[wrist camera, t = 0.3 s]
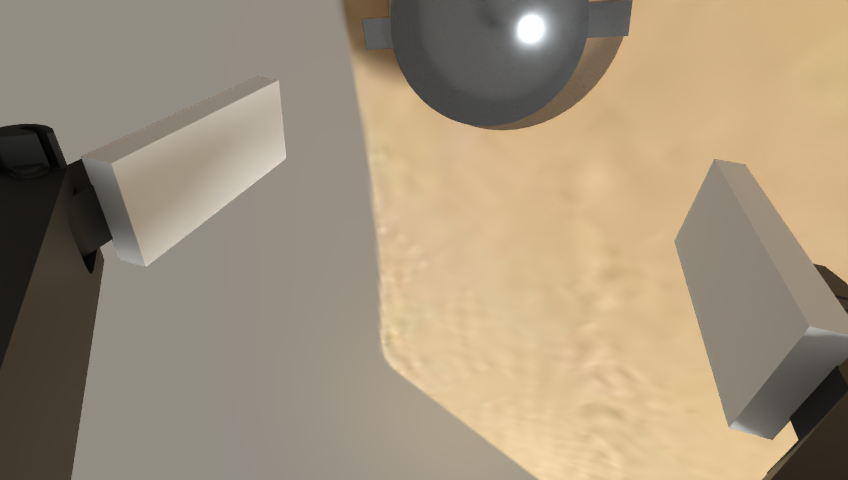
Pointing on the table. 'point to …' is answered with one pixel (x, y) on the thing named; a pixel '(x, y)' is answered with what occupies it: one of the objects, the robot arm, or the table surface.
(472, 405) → the table surface
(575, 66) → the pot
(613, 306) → the table surface
